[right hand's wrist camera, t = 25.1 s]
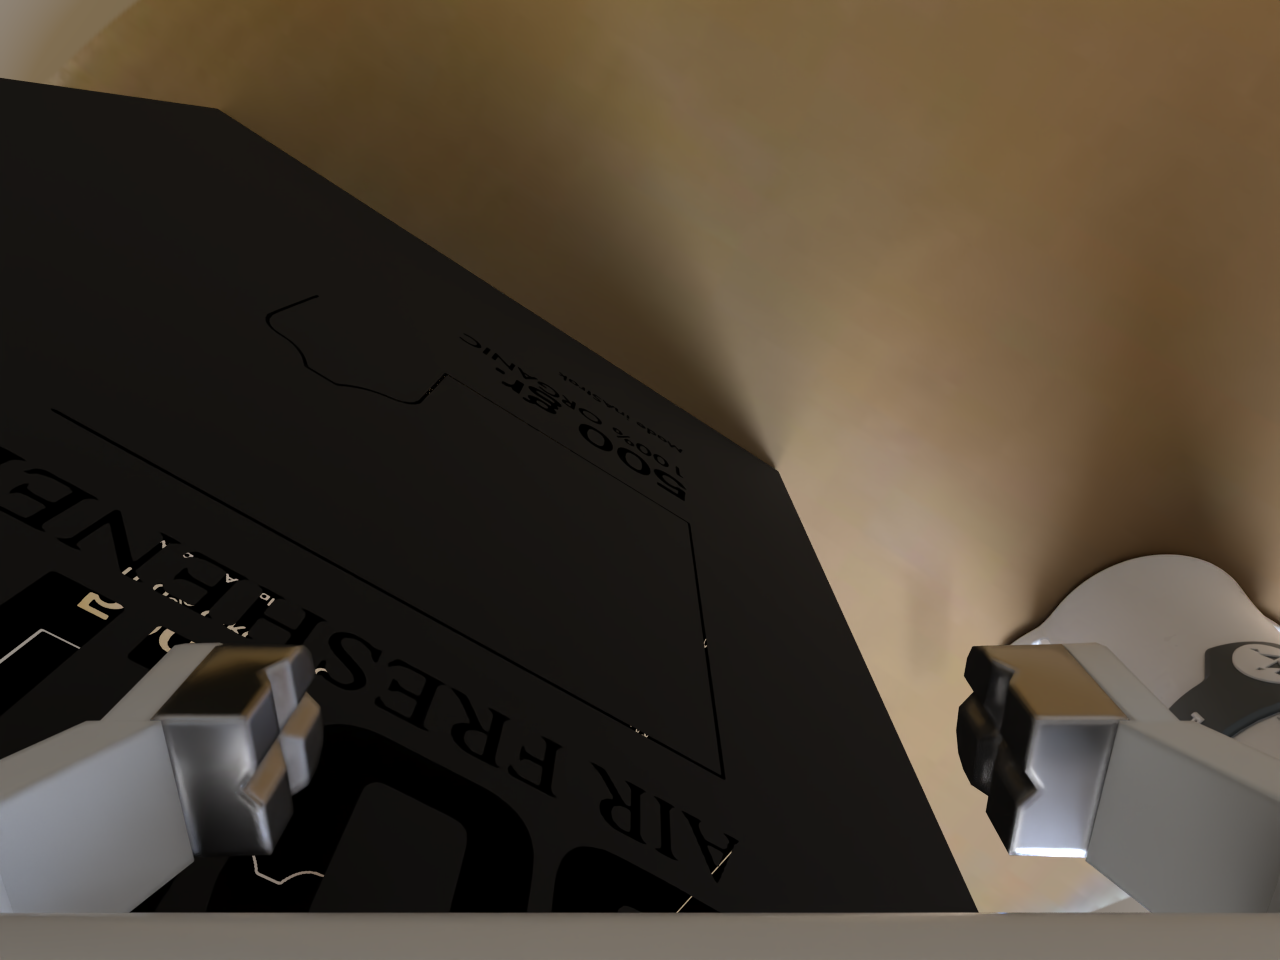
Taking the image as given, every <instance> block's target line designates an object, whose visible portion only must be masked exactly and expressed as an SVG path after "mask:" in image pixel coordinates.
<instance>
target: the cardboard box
mask: <svg viewBox="0 0 1280 960" xmlns="http://www.w3.org/2000/svg"><path fill="white" fill-rule="evenodd" d="M444 373H447V374H448V375H450V376H452V377H453V378H454V379H453V378H451V377H450V376H448V375H447V376H446V377H445V378H444V379H443V380H442V381H441V382H440V383H439V384H438V386H437V387H436V388H435V389H434V390H433V391H432V392H431V393H430V394H429V395H428V396H427V397H426V395H424V394H425V393H426V392H427V391H428V390H429V389H430V388H431V387H432V386H433V385H434V384H435V383H436V382H437V381H438V380H439V379H440V377H441V376H442V375H443V374H444ZM460 382H461V383H463V384H465V385H466V386H468V387H469V388H471V389H473V390H474V391H476V392H478V393H479V394H481V395H482V396H484V397H482V396H481V395H479V394H477V393H476V392H474V391H473V390H471V389H469V388H468V387H466V386H464V385H463V384H461V383H460ZM388 396H389V397H392V398H394V399H397V400H400V401H404V402H402V403H401V402H398V401H395V400H393V399H391V398H389V397H388ZM492 402H493V403H492ZM494 403H495V404H497V405H499V406H500V407H502V408H503V409H505V410H507V411H508V412H510V413H512V414H513V415H515V416H516V417H518V418H520V419H521V420H523V421H525V422H526V423H527V424H526V423H525V422H523V421H521V420H520V419H518V418H516V417H515V416H513V415H512V414H510V413H508V412H507V411H505V410H503V409H502V408H500V407H499V406H497V405H495V404H494ZM539 431H541V432H542V433H544V434H546V435H547V436H549V437H551V438H552V439H554V440H555V441H557V442H559V443H560V444H562V445H564V446H565V447H567V448H568V449H570V450H568V449H567V448H565V447H563V446H562V445H560V444H559V443H557V442H555V441H554V440H552V439H550V438H549V437H547V436H546V435H544V434H542V433H541V432H539ZM163 540H165V542H166V543H165V544H166V545H167V546H166V547H164V548H162V542H161V541H163ZM160 542H161V543H160ZM186 553H190V554H192V555H193V557H189V554H186ZM183 555H185V556H186V557H188V558H184V557H183ZM128 567H131V568H132V570H130V571H129V572H128V573H127V574H125V575H124V574H122V572H123V571H124V570H126V569H127V568H128ZM226 573H227V574H229V577H231V578H233V579H238V581H233V582H229V583H227V582H226ZM136 576H138V578H140V579H138V580H137V581H136V580H133V578H134V577H136ZM228 580H231V579H228ZM156 584H163V587H158V588H157V589H156V590H153V587H154V586H155V585H156ZM165 591H166V592H167V593H169V594H168V595H167V596H164V595H162V594H163V593H165ZM90 592H93V593H95V594H98V595H99V598H100V599H101V600H102V601H104V602H106V603H118V604H120V605H122V606H123V607H124V608H122V609H109V608H105V607H103V606H101V605H99V604H98V603H97V602H96V601H95V600H92V601H91V602H90V604H89V606H91V607H93V608H95V609H97V610H99V611H101V612H103V613H105V614H107V615H108V616H109V617H108V618H107V619H106V620H104V619H102V618H100V617H98V616H96V615H94V614H92V613H90V612H88V611H86V610H84V609H82V608H80V607H78V606H77V605H78V604H79V603H80V602H81V601H82V599H83V598H84V597H85V596H86V595H88V594H89V593H90ZM262 593H265V594H267V595H269V596H270V598H269V599H268V600H267V601H266V600H264V599H261V598H260V595H261V594H262ZM169 597H172V598H175V599H176V600H177V601H178V602H176V601H174V600H173V599H170V598H169ZM262 597H263V598H266V595H262ZM272 598H275V600H274V601H273V602H272V603H271V605H270V606H268V605H267V604H268V603H269V602H270V600H271V599H272ZM179 599H180V600H182V604H180V603H179ZM183 601H184V602H186V603H187V604H190V605H194V606H187V605H185V604H184V602H183ZM208 610H209V613H208V614H206V615H205V616H203V615H201V613H202V612H204V611H208ZM235 623H236V624H235ZM223 624H224V625H223ZM233 624H235V625H234V626H233V627H240V626H244V627H246V628H245V629H238V630H237V631H238V633H239V634H237V633H235V632H234V631H233V630H230V629H228V628H227V627H228V626H229V625H233ZM158 626H162V627H161V628H160V629H159V630H158V631H157V632H155V633H153V634H151V635H149V634H150V633H151V632H152V631H153V630H154V629H155V628H156V627H158ZM39 629H44V630H46V631H48V632H50V633H52V634H54V635H56V636H58V637H60V638H62V639H64V640H66V641H68V642H70V643H72V644H74V645H76V646H78V647H80V649H78V648H76V647H74V646H72V645H70V644H68V643H66V642H64V641H62V640H60V639H58V638H56V637H54V636H52V635H50V634H48V633H46V632H41V633H39V634H38V635H37V636H36V637H34V638H33V639H32V640H30V641H29V642H28V643H26V644H25V645H24V646H23V647H21V648H20V649H19V650H17V651H16V652H15V653H14V654H12V655H11V656H10V657H8V658H7V659H6V660H4V661H3V662H2V663H1V664H0V760H1V759H3V758H5V757H7V756H9V755H12V754H14V753H16V752H18V751H21V750H23V749H25V748H27V747H29V746H32V745H34V744H36V743H38V742H41V741H43V740H45V739H47V738H49V737H52V736H54V735H56V734H58V733H61V732H63V731H65V730H67V729H69V728H72V727H74V726H76V725H78V724H81V723H83V722H85V721H100V720H101V719H102V718H103V717H104V716H105V715H106V714H107V713H108V712H109V711H110V710H111V709H112V708H113V707H114V706H115V705H116V704H117V703H118V702H119V701H120V700H121V699H122V698H123V697H124V696H125V695H126V694H127V693H128V692H129V691H130V690H131V689H132V688H133V687H134V686H135V685H136V684H137V683H138V682H139V681H140V680H141V679H142V678H143V677H144V676H145V675H146V674H147V673H148V672H149V671H150V670H151V669H152V668H153V667H154V666H155V665H156V664H157V663H158V662H159V661H160V660H161V659H162V658H163V657H164V656H165V655H166V654H167V653H168V652H166V651H165V650H163V649H162V648H161V646H160V644H159V637H160V635H161V634H162V633H163V631H164V630H166V629H169V630H171V631H173V632H175V633H174V634H173V635H172V636H171V637H170V639H169V641H168V646H169V647H170V648H171V649H172V648H173V647H174V646H175V645H180V644H185V643H190V642H191V641H193V642H195V643H221V644H226V643H233V644H284V645H305V646H306V647H307V649H308V650H309V651H310V652H311V653H312V658H313V663H314V668H315V669H317V668H325V669H326V671H327V672H326V671H319V672H318V673H317V674H316V677H315V678H314V680H313V682H312V683H311V685H310V686H309V688H308V690H307V691H306V692H307V693H308V694H309V695H310V696H311V697H312V698H313V699H314V700H315V701H316V702H317V703H318V704H319V705H320V706H321V711H322V718H323V746H322V751H321V755H320V759H319V764H318V767H317V769H316V771H315V773H314V775H313V777H312V779H311V781H310V783H309V785H308V786H306V787H305V788H303V789H301V790H300V791H298V792H297V793H295V794H294V795H292V802H293V808H294V813H293V815H292V817H291V819H290V820H289V822H288V824H287V826H286V828H285V830H284V831H283V833H282V835H281V837H280V839H279V841H278V842H277V844H276V846H275V848H274V850H273V852H272V853H271V855H255V857H256V860H257V867H258V872H259V873H261V874H264V875H266V876H268V877H270V878H272V879H274V880H276V881H280V882H281V881H282V880H283V879H285V878H286V877H288V876H290V875H292V874H295V873H298V872H301V871H313V872H318V873H320V874H323V875H324V877H320V876H318V875H314V874H302V875H297V876H295V877H293V878H291V879H289V880H287V881H286V882H284V883H283V884H281V885H278V884H275V883H273V882H271V881H269V880H267V879H265V878H262V877H260V876H258V875H256V873H255V868H254V861H253V857H252V856H220V857H194V862H193V863H191V864H190V865H189V866H187V867H186V868H185V869H184V870H182V871H181V872H180V873H179V874H177V875H176V876H175V877H174V878H172V879H171V880H170V881H168V882H167V883H166V884H165V885H163V886H162V887H161V888H160V889H158V890H157V891H156V892H155V893H153V894H152V895H151V896H149V897H148V898H147V899H146V900H144V901H143V902H142V903H141V904H139V905H138V906H137V907H136V908H134V909H133V910H132V911H130V912H129V913H676V912H677V911H678V910H679V909H680V908H681V907H682V905H683V904H684V903H685V902H686V901H687V900H688V899H689V898H690V897H691V896H692V898H691V899H690V900H689V901H688V902H687V903H686V904H685V905H684V907H683V908H682V909H681V910H680V911H679V912H678V913H979V912H978V910H977V908H976V906H975V903H974V901H973V899H972V897H971V895H970V892H969V890H968V888H967V886H966V884H965V881H964V879H963V877H962V875H961V873H960V870H959V868H958V866H957V864H956V862H955V859H954V857H953V855H952V853H951V851H950V848H949V846H948V844H947V842H946V840H945V837H944V835H943V833H942V831H941V829H940V826H939V824H938V822H937V820H936V818H935V815H934V813H933V811H932V809H931V807H930V804H929V802H928V800H927V798H926V796H925V793H924V791H923V789H922V787H921V785H920V782H919V780H918V778H917V776H916V774H915V771H914V769H913V767H912V765H911V763H910V760H909V758H908V756H907V754H906V752H905V749H904V747H903V745H902V743H901V741H900V738H899V736H898V734H897V732H896V730H895V727H894V725H893V723H892V721H891V719H890V716H889V714H888V712H887V710H886V708H885V705H884V703H883V701H882V699H881V697H880V694H879V692H878V690H877V688H876V686H875V683H874V681H873V679H872V677H871V675H870V672H869V670H868V668H867V666H866V664H865V661H864V659H863V657H862V655H861V652H860V650H859V648H858V646H857V644H856V641H855V639H854V637H853V635H852V633H851V630H850V628H849V626H848V624H847V622H846V619H845V617H844V615H843V613H842V611H841V608H840V606H839V604H838V602H837V600H836V597H835V595H834V593H833V591H832V589H831V586H830V584H829V582H828V580H827V578H826V575H825V573H824V571H823V569H822V567H821V564H820V562H819V560H818V558H817V556H816V553H815V551H814V549H813V547H812V545H811V542H810V540H809V538H808V536H807V534H806V531H805V529H804V527H803V525H802V523H801V520H800V518H799V516H798V514H797V512H796V509H795V507H794V505H793V503H792V501H791V498H790V496H789V494H788V492H787V490H786V487H785V485H784V483H783V481H782V479H781V476H780V474H779V472H778V471H777V470H775V469H774V468H772V467H771V466H769V465H768V464H766V463H765V462H763V461H762V460H760V459H758V458H757V457H755V456H754V455H752V454H751V453H749V452H748V451H746V450H745V449H743V448H741V447H740V446H738V445H737V444H735V443H734V442H732V441H731V440H729V439H728V438H726V437H724V436H723V435H721V434H720V433H718V432H717V431H715V430H714V429H712V428H710V427H709V426H707V425H706V424H704V423H703V422H701V421H700V420H698V419H697V418H695V417H693V416H692V415H690V414H689V413H687V412H686V411H684V410H683V409H681V408H680V407H678V406H676V405H675V404H673V403H672V402H670V401H669V400H667V399H666V398H664V397H663V396H661V395H659V394H658V393H656V392H655V391H653V390H652V389H650V388H649V387H647V386H645V385H644V384H642V383H641V382H639V381H638V380H636V379H635V378H633V377H632V376H630V375H628V374H627V373H625V372H624V371H622V370H621V369H619V368H618V367H616V366H615V365H613V364H611V363H610V362H608V361H607V360H605V359H604V358H602V357H601V356H599V355H598V354H596V353H594V352H593V351H591V350H590V349H588V348H587V347H585V346H584V345H582V344H581V343H579V342H577V341H576V340H574V339H573V338H571V337H570V336H568V335H567V334H565V333H563V332H562V331H560V330H559V329H557V328H556V327H554V326H553V325H551V324H550V323H548V322H546V321H545V320H543V319H542V318H540V317H539V316H537V315H536V314H534V313H533V312H531V311H529V310H528V309H526V308H525V307H523V306H522V305H520V304H519V303H517V302H516V301H514V300H512V299H511V298H509V297H508V296H506V295H505V294H503V293H502V292H500V291H499V290H497V289H495V288H494V287H492V286H491V285H489V284H488V283H486V282H485V281H483V280H481V279H480V278H478V277H477V276H475V275H474V274H472V273H471V272H469V271H468V270H466V269H464V268H463V267H461V266H460V265H458V264H457V263H455V262H454V261H452V260H451V259H449V258H447V257H446V256H444V255H443V254H441V253H440V252H438V251H437V250H435V249H434V248H432V247H430V246H429V245H427V244H426V243H424V242H423V241H421V240H420V239H418V238H417V237H415V236H413V235H412V234H410V233H409V232H407V231H406V230H404V229H403V228H401V227H399V226H398V225H396V224H395V223H393V222H392V221H390V220H389V219H387V218H386V217H384V216H382V215H381V214H379V213H378V212H376V211H375V210H373V209H372V208H370V207H369V206H367V205H365V204H364V203H362V202H361V201H359V200H358V199H356V198H355V197H353V196H352V195H350V194H348V193H347V192H345V191H344V190H342V189H341V188H339V187H338V186H336V185H335V184H333V183H331V182H330V181H328V180H327V179H325V178H324V177H322V176H321V175H319V174H317V173H316V172H314V171H313V170H311V169H310V168H308V167H307V166H305V165H304V164H302V163H300V162H299V161H297V160H296V159H294V158H293V157H291V156H290V155H288V154H287V153H285V152H283V151H282V150H280V149H279V148H277V147H276V146H274V145H273V144H271V143H270V142H268V141H266V140H265V139H263V138H262V137H260V136H259V135H257V134H256V133H254V132H253V131H251V130H249V129H248V128H246V127H245V126H243V125H242V124H240V123H239V122H237V121H235V120H234V119H232V118H231V117H229V116H228V115H226V114H225V113H223V112H222V111H220V110H218V109H215V108H208V107H201V106H194V105H187V104H180V103H173V102H166V101H159V100H152V99H145V98H138V97H131V96H124V95H117V94H110V93H103V92H96V91H89V90H82V89H75V88H68V87H61V86H54V85H47V84H39V83H32V82H25V81H18V80H11V79H4V78H0V659H2V658H3V657H4V656H5V655H7V654H8V653H9V652H11V651H12V650H13V649H14V648H16V647H17V646H18V645H20V644H21V643H22V642H24V641H25V640H26V639H28V638H29V637H30V636H32V635H33V634H34V633H36V632H37V631H38V630H39ZM247 631H249V632H248V635H247V636H246V637H243V636H242V634H243V633H244V632H247ZM705 639H706V641H705ZM704 641H705V644H704ZM704 645H705V646H706V645H707V647H706V648H704ZM636 729H637V732H638V731H639V733H637V732H636ZM644 733H645V734H646V736H647V735H648V737H645V736H644ZM731 851H732V853H731V854H730V855H729V856H728V857H727V859H726V860H725V861H724V862H723V863H722V864H721V865H720V866H719V864H720V863H721V862H722V861H723V860H724V859H725V857H726V856H727V855H728V854H729V853H730V852H731ZM717 866H718V869H717V870H716V871H715V872H714V873H713V874H711V873H712V872H713V871H714V870H715V869H716V868H717Z"/></svg>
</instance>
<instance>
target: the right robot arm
mask: <svg viewBox="0 0 1280 960" xmlns="http://www.w3.org/2000/svg"><path fill="white" fill-rule="evenodd" d="M315 677H316V673H315V668H314V663H313V658H312V653H311V652H310V651H309V650H308V649H307V647H306V646H305V645H284V644H233V643H226V644H221V643H185V644H180V645H175V646H174V647H173V648H172V649H171V650H170V651H169V652H168V653H167V654H166V655H165V656H164V657H163V658H162V659H161V660H160V661H159V662H158V663H157V664H156V665H155V666H154V667H153V668H152V669H151V670H150V671H149V672H148V673H147V674H146V675H145V676H144V677H143V678H142V679H141V680H140V681H139V682H138V683H137V684H136V685H135V686H134V687H133V688H132V689H131V690H130V691H129V692H128V693H127V694H126V695H125V696H124V697H123V698H122V699H121V700H120V701H119V702H118V703H117V704H116V705H115V706H114V707H113V708H112V709H111V710H110V711H109V712H108V713H107V714H106V715H105V716H104V717H103V718H102V719H101V720H100V721H85V722H83V723H81V724H78V725H76V726H74V727H72V728H69V729H67V730H65V731H63V732H61V733H58V734H56V735H54V736H52V737H49V738H47V739H45V740H43V741H41V742H38V743H36V744H34V745H32V746H29V747H27V748H25V749H23V750H21V751H18V752H16V753H14V754H12V755H9V756H7V757H5V758H3V759H1V760H0V960H1280V626H1279V625H1278V624H1277V623H1275V622H1274V621H1272V620H1271V619H1269V618H1267V617H1265V616H1264V615H1263V614H1262V613H1261V612H1260V611H1259V610H1258V609H1257V608H1256V606H1255V605H1254V604H1253V603H1252V602H1251V600H1250V599H1249V598H1248V597H1247V595H1246V594H1245V593H1244V591H1243V590H1242V589H1241V587H1240V586H1239V585H1238V583H1237V582H1236V581H1235V580H1234V579H1233V578H1232V577H1231V576H1230V575H1229V574H1227V573H1226V572H1225V571H1223V570H1222V569H1220V568H1219V567H1217V566H1215V565H1213V564H1211V563H1209V562H1207V561H1204V560H1201V559H1198V558H1194V557H1190V556H1184V555H1174V554H1161V555H1150V556H1144V557H1139V558H1134V559H1131V560H1127V561H1124V562H1121V563H1118V564H1116V565H1114V566H1111V567H1109V568H1107V569H1105V570H1103V571H1101V572H1099V573H1097V574H1095V575H1094V576H1092V577H1091V578H1089V579H1087V580H1086V581H1085V582H1083V583H1082V584H1081V585H1079V586H1078V587H1077V588H1076V589H1074V590H1073V591H1072V592H1071V593H1070V594H1069V595H1068V596H1067V597H1066V598H1065V599H1064V600H1063V601H1062V602H1061V603H1060V604H1059V606H1058V607H1057V608H1056V609H1055V610H1054V611H1053V613H1052V614H1051V615H1050V616H1049V617H1048V618H1047V620H1046V621H1045V622H1044V623H1043V624H1041V625H1040V626H1039V627H1037V628H1036V629H1034V630H1032V631H1030V632H1029V633H1027V634H1025V635H1024V636H1022V637H1021V638H1019V639H1017V640H1016V641H1015V642H1013V643H1012V644H1011V645H997V646H973V647H972V649H971V651H970V653H969V655H968V657H967V662H966V667H965V673H964V677H965V678H966V680H967V682H968V683H969V685H970V686H971V688H972V690H973V691H974V692H973V693H972V694H971V695H970V696H969V697H968V698H967V699H966V700H965V701H964V702H963V703H962V704H961V705H960V706H959V712H958V720H957V728H956V733H957V744H958V753H959V757H960V760H961V763H962V767H963V770H964V772H965V774H966V776H967V777H968V779H969V781H970V783H971V785H972V786H974V787H976V788H977V789H979V790H980V791H982V792H983V793H985V794H986V795H988V802H987V808H986V813H987V815H988V817H989V819H990V820H991V822H992V824H993V826H994V828H995V830H996V831H997V833H998V835H999V837H1000V839H1001V841H1002V842H1003V844H1004V846H1005V848H1006V850H1007V851H1008V853H1009V855H1023V856H1059V857H1086V861H1087V862H1088V863H1089V864H1090V865H1092V866H1093V867H1094V868H1095V869H1097V870H1098V871H1099V872H1100V873H1102V874H1103V875H1104V876H1106V877H1107V878H1108V879H1109V880H1111V881H1112V882H1113V883H1114V884H1116V885H1117V886H1118V887H1119V888H1121V889H1122V890H1123V891H1125V892H1126V893H1127V894H1128V895H1130V896H1131V897H1132V898H1133V899H1135V900H1136V901H1137V902H1138V903H1140V904H1141V905H1142V906H1143V907H1145V908H1146V909H1147V910H1149V911H1150V912H1151V913H129V912H130V911H132V910H133V909H134V908H136V907H137V906H138V905H139V904H141V903H142V902H143V901H144V900H146V899H147V898H148V897H149V896H151V895H152V894H153V893H155V892H156V891H157V890H158V889H160V888H161V887H162V886H163V885H165V884H166V883H167V882H168V881H170V880H171V879H172V878H174V877H175V876H176V875H177V874H179V873H180V872H181V871H182V870H184V869H185V868H186V867H187V866H189V865H190V864H191V863H193V862H194V857H220V856H255V855H271V853H272V852H273V850H274V848H275V846H276V844H277V842H278V841H279V839H280V837H281V835H282V833H283V831H284V830H285V828H286V826H287V824H288V822H289V820H290V819H291V817H292V815H293V813H294V808H293V802H292V795H294V794H295V793H297V792H298V791H300V790H301V789H303V788H305V787H306V786H308V785H309V783H310V781H311V779H312V777H313V775H314V773H315V771H316V769H317V767H318V764H319V759H320V755H321V751H322V746H323V718H322V711H321V706H320V705H319V704H318V703H317V702H316V701H315V700H314V699H313V698H312V697H311V696H310V695H309V694H308V693H307V692H306V691H307V690H308V688H309V686H310V685H311V683H312V682H313V680H314V678H315Z"/></svg>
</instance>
